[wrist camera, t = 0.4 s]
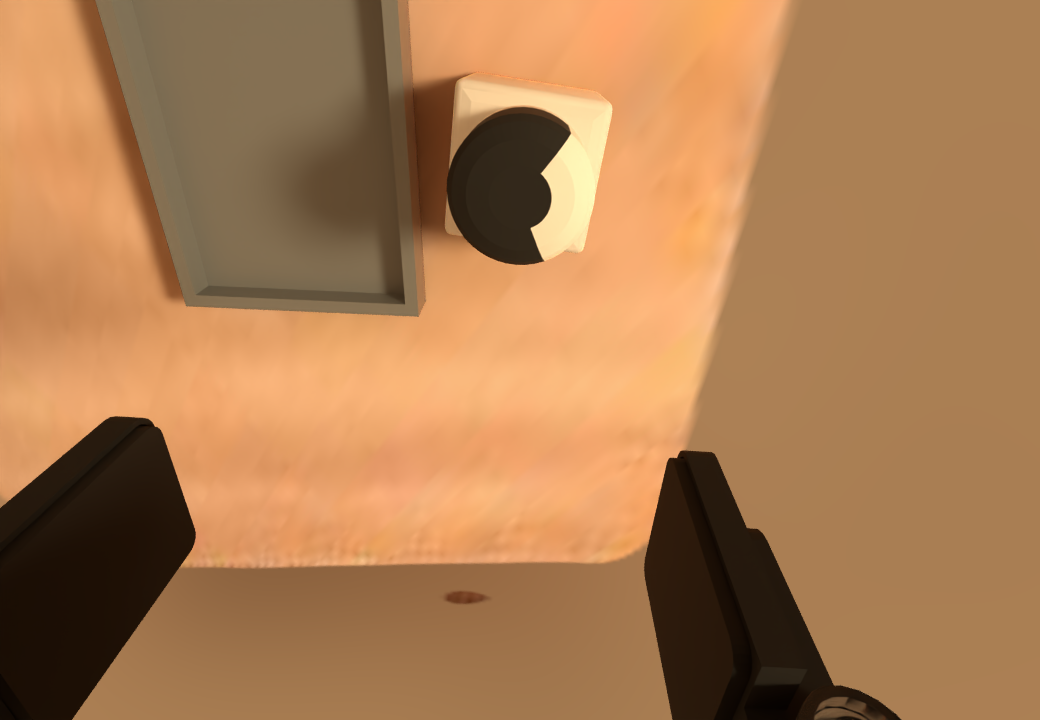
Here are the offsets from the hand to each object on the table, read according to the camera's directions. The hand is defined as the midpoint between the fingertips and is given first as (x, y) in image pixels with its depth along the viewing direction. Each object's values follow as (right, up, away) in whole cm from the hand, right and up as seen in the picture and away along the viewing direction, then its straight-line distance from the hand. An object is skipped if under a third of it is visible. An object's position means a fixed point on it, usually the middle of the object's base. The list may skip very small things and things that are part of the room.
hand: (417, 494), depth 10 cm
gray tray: (-12, +15, +22) cm, 29 cm away
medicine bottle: (+2, +15, +22) cm, 27 cm away
